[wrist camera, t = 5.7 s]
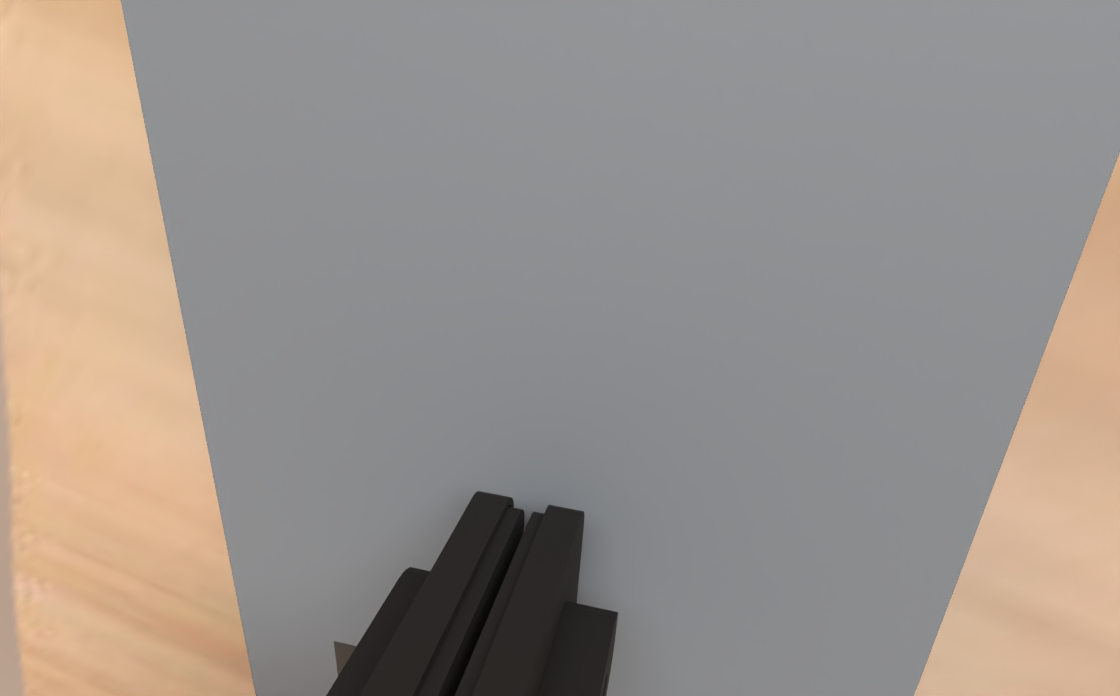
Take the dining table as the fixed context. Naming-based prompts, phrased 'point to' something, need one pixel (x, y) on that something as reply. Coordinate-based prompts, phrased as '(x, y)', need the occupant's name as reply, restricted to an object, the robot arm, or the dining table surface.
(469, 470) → the board
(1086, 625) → the dining table surface
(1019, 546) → the dining table surface
